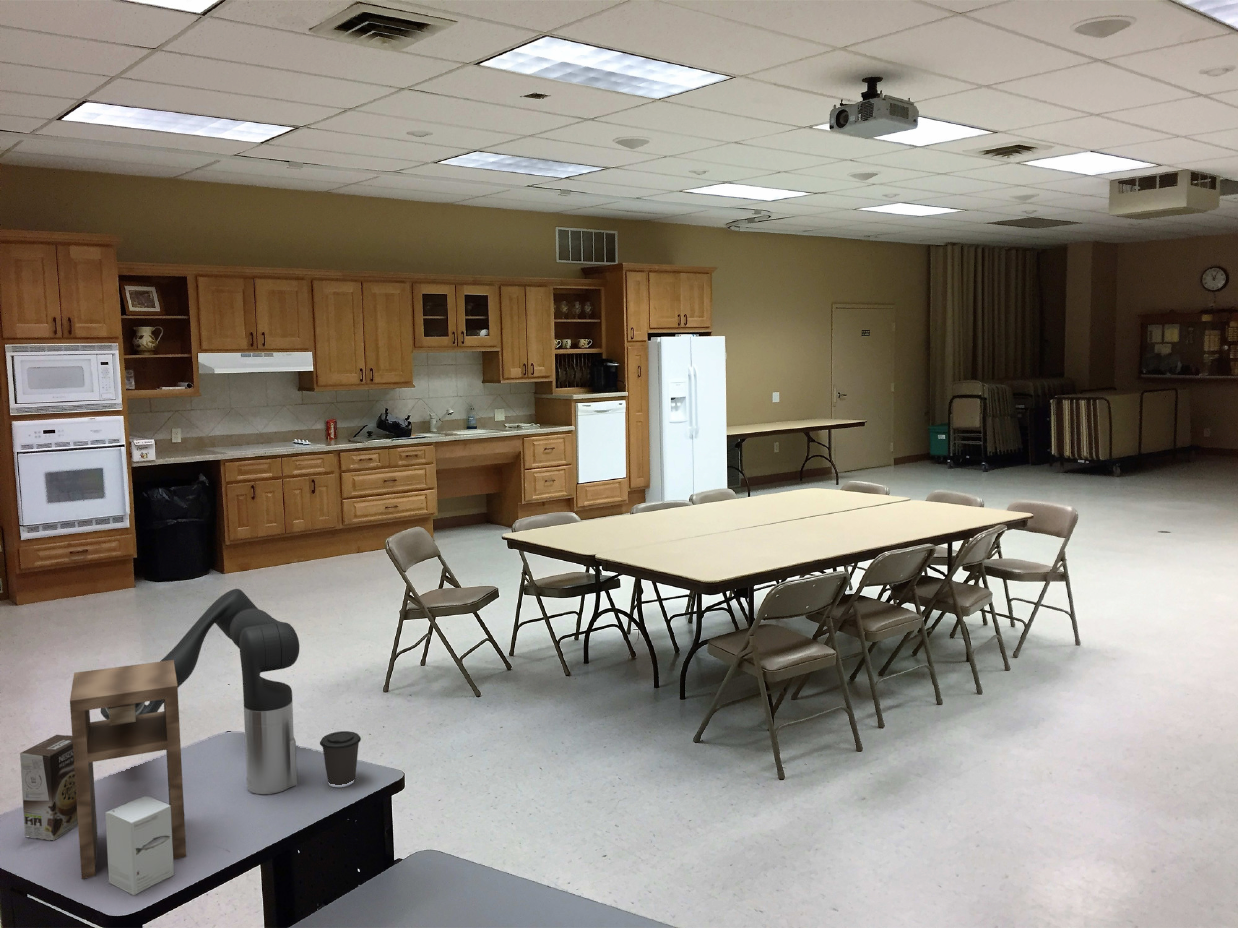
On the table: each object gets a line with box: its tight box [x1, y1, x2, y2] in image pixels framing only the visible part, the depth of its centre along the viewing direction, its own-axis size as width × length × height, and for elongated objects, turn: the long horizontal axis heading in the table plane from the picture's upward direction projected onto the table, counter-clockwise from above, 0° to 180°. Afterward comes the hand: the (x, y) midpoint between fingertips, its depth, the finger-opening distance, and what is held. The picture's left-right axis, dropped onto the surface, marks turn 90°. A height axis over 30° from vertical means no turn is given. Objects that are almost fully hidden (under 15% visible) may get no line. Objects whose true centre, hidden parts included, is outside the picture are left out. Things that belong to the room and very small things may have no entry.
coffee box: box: [19, 734, 78, 841], centre depth 177 cm, size 9×6×16 cm
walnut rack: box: [69, 660, 187, 880], centre depth 169 cm, size 16×15×31 cm
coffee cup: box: [319, 730, 362, 785], centre depth 197 cm, size 8×8×10 cm
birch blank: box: [109, 703, 136, 726], centre depth 176 cm, size 4×20×3 cm, turn 27°
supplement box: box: [104, 795, 175, 896], centre depth 160 cm, size 7×7×13 cm
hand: (121, 680), depth 180 cm, fingers closed on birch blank, 4 cm apart
